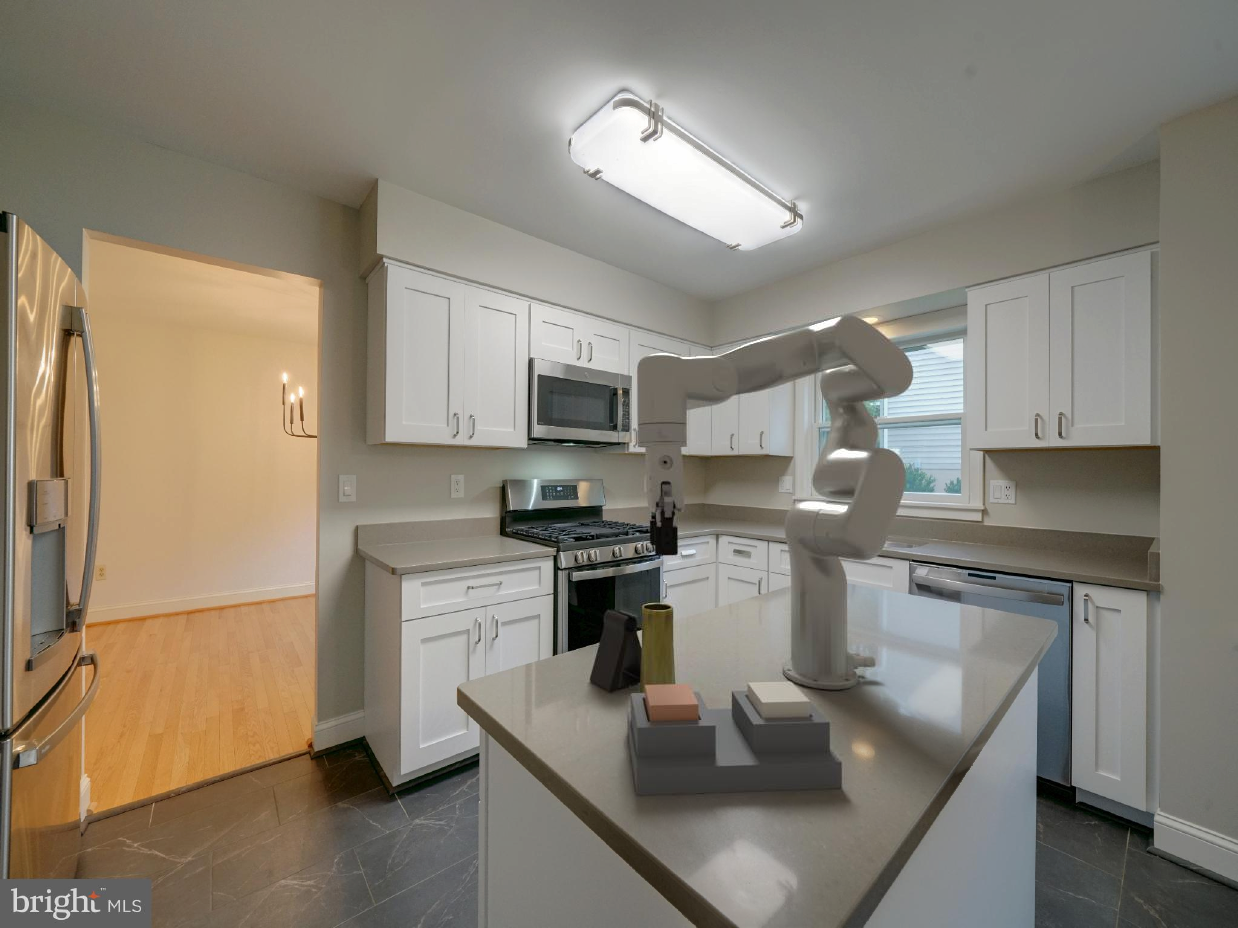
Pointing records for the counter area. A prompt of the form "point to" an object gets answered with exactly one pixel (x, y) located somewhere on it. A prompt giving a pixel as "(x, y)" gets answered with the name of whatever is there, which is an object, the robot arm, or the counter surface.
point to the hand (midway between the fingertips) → (663, 549)
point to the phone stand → (618, 653)
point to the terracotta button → (670, 703)
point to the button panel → (730, 751)
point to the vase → (657, 645)
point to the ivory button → (778, 700)
